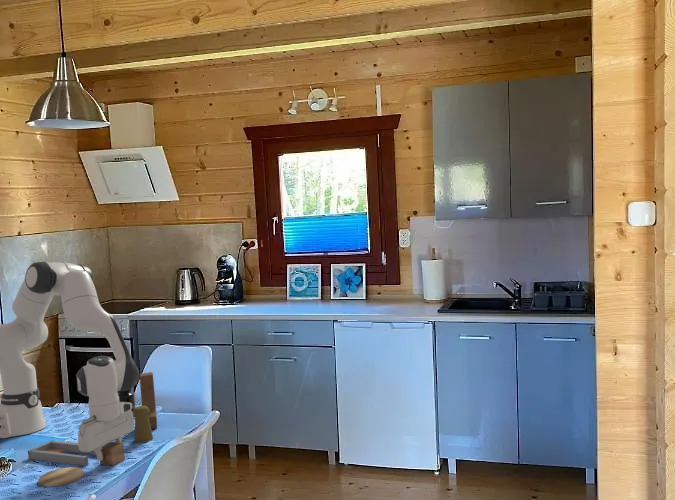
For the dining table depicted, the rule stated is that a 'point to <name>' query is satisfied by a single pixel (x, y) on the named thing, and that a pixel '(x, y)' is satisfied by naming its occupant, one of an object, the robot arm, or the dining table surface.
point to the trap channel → (59, 453)
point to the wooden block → (148, 397)
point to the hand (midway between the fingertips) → (109, 455)
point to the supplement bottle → (127, 397)
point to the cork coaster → (61, 476)
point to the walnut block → (113, 453)
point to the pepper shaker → (142, 424)
